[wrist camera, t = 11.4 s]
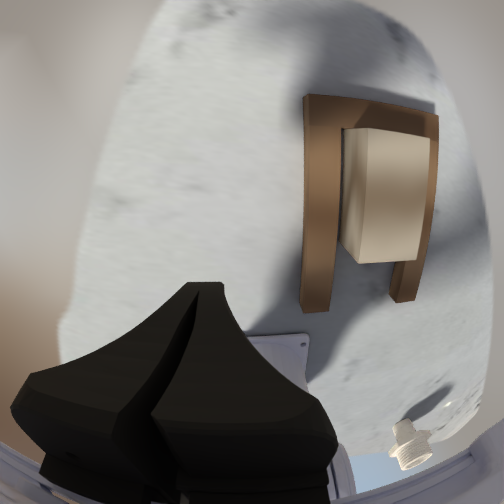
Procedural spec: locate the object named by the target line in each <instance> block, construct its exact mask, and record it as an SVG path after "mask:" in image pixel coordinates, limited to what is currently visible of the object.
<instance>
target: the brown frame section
mask: <svg viewBox="0 0 504 504" xmlns="http://www.w3.org/2000/svg"><path fill="white" fill-rule="evenodd" d="M303 117H304V216H303V247H302V269H301V287H300V302H299V303H300V306H301V309H302V312H303V313H315V312H326V311H329V307H330V299H331V292H332V283H333V274H334V265H335V255H336V244H337V231H338V217H339V199H340V172H341V129H358V128H372V129H379V130H386V131H393V132H399V133H404V134H410V135H415V136H420V137H425V138H430V152H429V171H428V184H427V194H426V203H425V211H424V218H423V225H422V231H421V237H420V243H419V248H418V253H417V258H416V260H408V261H395V265H394V270H393V275H392V280H391V285H390V289H389V295H390V297H391V298H392V299H393V300H394V301H395V303H402V302H408V301H415V298H416V294H417V290H418V287H419V283H420V279H421V275H422V270H423V266H424V262H425V257H426V252H427V247H428V242H429V236H430V230H431V224H432V218H433V210H434V202H435V194H436V183H437V170H438V150H439V116H438V115H434V114H431V113H427V112H423V111H419V110H415V109H411V108H406V107H402V106H397V105H392V104H387V103H381V102H375V101H369V100H363V99H356V98H348V97H339V96H329V95H318V94H307V95H306V96H304V97H303Z"/></svg>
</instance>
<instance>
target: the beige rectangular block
mask: <svg viewBox="0 0 504 504" xmlns="http://www.w3.org/2000/svg"><path fill="white" fill-rule="evenodd" d="M429 152H430V138H425V137H420V136H415V135H410V134H404V133H399V132H393V131H386V130H379V129H372V128H358V129H344V153H343V186H342V205H341V220H340V233H339V242H340V243H341V244H342V246H343V247H344V248H345V249H346V250H347V251H348V252H349V253H350V255H351V256H352V257H353V258H354V259H355V260H356V261H357V263H358V264H361V263H377V262H393V261H408V260H416V258H417V253H418V248H419V243H420V237H421V231H422V225H423V218H424V211H425V203H426V194H427V184H428V171H429Z"/></svg>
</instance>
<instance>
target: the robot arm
mask: <svg viewBox="0 0 504 504" xmlns="http://www.w3.org/2000/svg"><path fill="white" fill-rule="evenodd" d="M309 340H310V339H309V335H308V334H306V333H301V334H289V335H275V336H258V337H246V336H245V334H244V333H243V331H242V330H241V328H240V327H239V325H238V323H237V321H236V320H235V318H234V316H233V314H232V312H231V310H230V308H229V305H228V303H227V300H226V297H225V293H224V284H223V283H222V282H187V283H186V284H185V285H184V286H182V287H181V288H180V289H179V290H178V291H177V292H176V293H175V294H174V295H173V296H172V297H171V298H170V299H169V300H168V301H167V302H165V303H164V304H163V305H162V306H161V307H160V308H159V309H158V310H156V311H155V312H154V313H153V314H151V315H150V316H149V317H148V318H147V319H145V320H144V321H143V322H142V323H140V324H139V325H138V326H136V327H135V328H133V329H132V330H131V331H129V332H127V333H126V334H124V335H123V336H121V337H120V338H118V339H116V340H115V341H113V342H111V343H109V344H107V345H105V346H103V347H102V348H100V349H98V350H96V351H94V352H92V353H90V354H87V355H85V356H83V357H81V358H78V359H76V360H73V361H70V362H68V363H65V364H62V365H59V366H56V367H53V368H49V369H45V370H42V371H38V372H35V373H31V374H30V375H29V376H28V378H27V380H26V381H25V383H24V384H23V386H22V388H21V389H20V391H19V393H18V394H17V396H16V398H15V399H14V401H13V403H12V405H11V406H10V409H11V413H12V416H13V418H14V419H15V421H16V423H17V424H18V425H19V426H20V427H21V429H22V430H23V431H24V432H25V433H26V434H27V435H28V436H29V437H30V438H31V439H32V440H33V441H34V442H35V443H36V444H37V445H38V446H39V447H40V448H41V449H42V450H43V451H44V452H45V453H46V455H45V458H44V460H43V463H42V465H41V464H39V463H37V462H35V461H33V460H31V459H29V458H28V457H26V456H24V455H22V454H20V453H19V452H17V451H15V450H13V449H12V448H10V447H8V446H7V445H5V444H4V443H2V442H0V504H69V503H67V502H66V501H64V500H62V499H60V498H58V497H56V496H54V495H53V494H52V492H51V491H53V492H55V493H57V494H59V495H61V496H63V497H66V498H68V499H70V500H72V501H75V502H77V503H80V504H500V503H501V502H502V501H503V500H504V419H502V420H501V421H499V422H498V423H496V424H495V425H494V426H492V427H490V428H489V429H488V430H486V431H485V432H484V433H482V434H481V435H480V436H479V437H478V438H477V439H476V440H475V441H474V442H473V443H472V444H471V445H470V447H469V448H467V449H465V450H464V451H462V452H460V453H458V454H457V455H455V456H453V457H451V458H449V459H447V460H445V461H443V462H441V463H439V464H437V465H435V466H433V467H431V468H429V469H426V470H425V471H422V472H420V473H417V474H415V475H413V476H410V477H408V478H405V479H402V480H400V481H397V482H394V483H392V484H389V485H386V486H383V487H380V488H377V489H373V490H370V491H367V492H363V493H360V494H356V487H355V481H354V476H353V472H352V468H351V464H350V461H349V458H348V455H347V452H346V450H345V448H344V446H343V445H342V444H340V443H338V440H337V436H336V433H335V430H334V428H333V426H332V424H331V421H330V419H329V417H328V415H327V413H326V412H325V410H324V408H323V406H322V405H321V403H320V401H319V400H318V399H317V398H315V397H314V396H312V395H311V394H309V391H308V387H307V382H306V378H305V370H306V363H307V356H308V348H309ZM303 342H305V343H304V344H301V343H303Z"/></svg>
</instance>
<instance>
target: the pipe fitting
mask: <svg viewBox="0 0 504 504" xmlns="http://www.w3.org/2000/svg"><path fill="white" fill-rule="evenodd" d="M393 432H394V435H395V436H396V440H397V443H396V444H395V445H394V446H393V447H392V448H391V450H390V451H389V452H388V454H389V456H390V457H397V459H398V461H399V464H400V467H401V469H402V470H407V469H410V468H413V467H415V466H417V465H419V464H420V463H422V462H424V461H425V460H427V459H428V458H429V457H430V456H431V455H432V451H431V449H430V446H429V444H428V442H427V439H428V438H429V437H430V436H431V432H430V430H419V431H417V432H416V430H415V428H414V427H413V424H412V422H411V421H410V419H404V420H401V421H400V422H398V423H397V424H395V425H394V426H393Z"/></svg>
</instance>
